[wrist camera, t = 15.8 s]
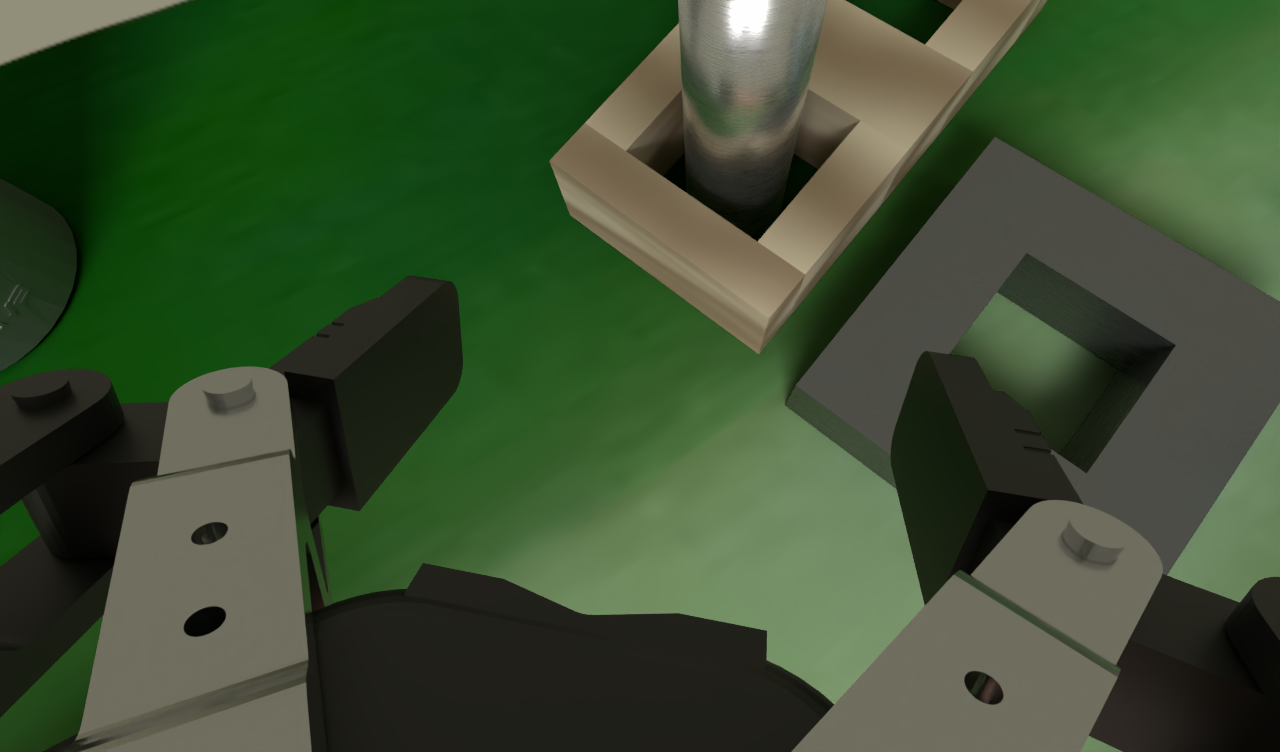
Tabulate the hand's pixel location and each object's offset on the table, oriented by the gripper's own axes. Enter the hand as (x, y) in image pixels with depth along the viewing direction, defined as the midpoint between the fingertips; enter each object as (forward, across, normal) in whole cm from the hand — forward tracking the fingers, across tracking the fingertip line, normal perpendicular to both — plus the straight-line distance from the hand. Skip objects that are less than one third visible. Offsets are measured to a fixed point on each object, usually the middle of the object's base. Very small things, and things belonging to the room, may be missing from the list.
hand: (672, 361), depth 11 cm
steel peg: (+18, 0, +2) cm, 18 cm away
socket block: (+13, -12, +6) cm, 19 cm away
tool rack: (+21, -3, -1) cm, 21 cm away
